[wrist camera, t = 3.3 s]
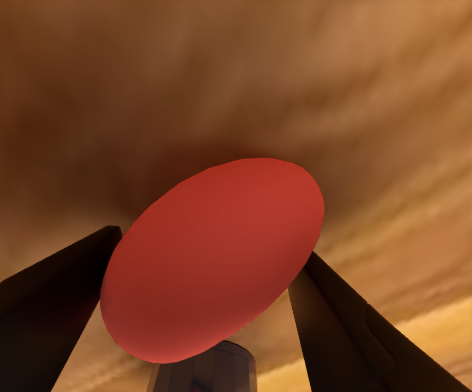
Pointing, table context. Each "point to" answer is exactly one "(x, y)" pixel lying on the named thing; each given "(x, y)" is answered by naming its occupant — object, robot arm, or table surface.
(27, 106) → the table surface
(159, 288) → the stress ball
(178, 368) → the cup
